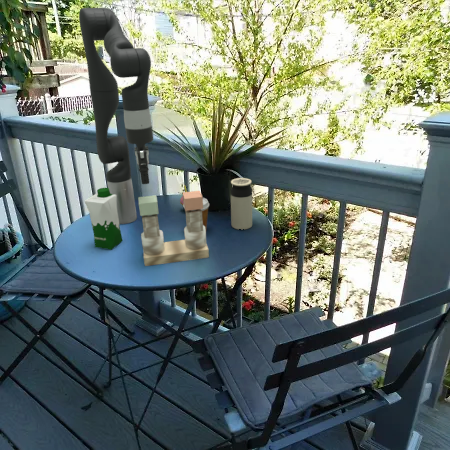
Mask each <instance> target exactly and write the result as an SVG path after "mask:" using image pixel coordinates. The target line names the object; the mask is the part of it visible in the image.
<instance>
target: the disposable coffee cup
mask: <svg viewBox="0 0 450 450" xmlns="http://www.w3.org/2000/svg"><path fill="white" fill-rule="evenodd" d="M182 207H183V208H184V210H185V207H184V204H183V205H182ZM209 207H210V203H209V201H208V199H207V198H205V197H203V209H201V210H202V220H203V225H204V226H205V229H206V230H207V228H208V227H207V226H208V217H209V215H208V214H209Z"/></svg>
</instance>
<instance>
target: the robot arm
mask: <svg viewBox="0 0 450 450" xmlns="http://www.w3.org/2000/svg"><path fill="white" fill-rule="evenodd" d="M78 17H79V19H78V20H79V27H80V33H81V37H82V38H81V40H82V43H83V47H84V52H85V59H86V65H87V73H88V83H89V92H90V97H91V98H90V99H91V104H92V105H91V106H92V110H93V116H94V123H95V139H96V140H95V141H96V142H95V143H96V150H97V156H98V159H99V161H100V162H101V164H103V165H109V164H114V163H117V164H116V165H115V166H114V167H112V168H110V169H109V170H108V171H107V172H106V174H105V176H106V177H105V178H106V183H107V188H109V191H110V194H115V195H117V213H118V219H119V225H125V224H131V223H134V222H135V221H137V219H138V216H137V215H138V214H137V209H136V201H135V196H134V194H135V193H134V188H133V187H134V186H133V181H132V171H131V170H132V168H131V161H130V149H129V145H136V146H135V147H134V155H135V156H136V157H135V158H136V159H135V160H136V165H138V171H139V173H140V180H141V181H140V182H141V184H142V185H148V184H150V178H149V171H150V170H149V166H148V165H149V164H150V161H149V159H150V158H149V155H150V152H149V146H148V145H147V146H146V144H149V143H152V142H153V141H154V133H153V125H152V123H153V121H152V115H151V114H152V113H151V112H150V104H149V96H148V94H149V93H148V92H149V91H148V90H149V79H150V74H151V68H152V60H151V56H150V53H148V51H147V50H146V49H144V48H142V47H136V48H135V47H134V45H133V44H132V43H131V41H130V40H129V39H128V38H127V36H126V35H125V33H124V32H123V31H124V30H123V29H122V26H121V24H120V21H119V19H118V16H117V15H116V13H115V12H114V11H113V10H112V9H111V8H108V7H82V8H80V9H79V15H78ZM96 41H97V42H98V41H103V47H104V50H105V52H106V54H107V55H108V56H109V57H110V60H109V61H110V67H111V70H110V69H109V68H108V67H107V65H106V64H105V63H104V61H103V59H102V58H101V56H100V55H99V53H98V50H97V48H96V44H95V42H96ZM111 71H112V72H111ZM115 76H116V77H118V78H123V79H126V78H136V80H135V82H134V83H132V84H131V85H128V86H126V87H123V88H122V89H121V100H122V107H123V108H122V109H123V121H124V122H123V123H124V128H125V136H126V138H125V136H123V135H122V136H121V135H119V136H111V137H108V132H109V128H110V124H111V121H112V120H113V118H114V117H115V114H116V112H117V110H118V107H119V104H120V96H119V95H120V94H119V93H120V92H119V85H118V81H117V79H116V77H115Z"/></svg>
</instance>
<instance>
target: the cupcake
mask: <svg viewBox="0 0 450 450" xmlns="http://www.w3.org/2000/svg"><path fill="white" fill-rule="evenodd" d="M183 188H184V192H188V191H187V188H186V185H185V184H183ZM179 204H180V205H182V206H183V195H182V196H181V197H180V198H179Z"/></svg>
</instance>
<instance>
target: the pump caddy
mask: <svg viewBox="0 0 450 450" xmlns="http://www.w3.org/2000/svg"><path fill="white" fill-rule="evenodd" d="M184 212H185V221H186V222H185V223H186V224H185V225H186V226H185V227H184V229H183V232H184V239H180V240H171V241H170V240H169V241H165V238H164V232H163V230H161V229H160V225H159V216H158V215H159V214H153V215H152V216H147V215H144V216H141V219H142V228H143V232H141V234H140V239H141V244H142V250H143V251H142V252H143V263H144V267H149V266H156V265H162V264H163V265H165V264H171V263H178V262H184V261H186V262H187V261H193V260H198V259H199V260H200V259H207V258H210V252H209V246H208V244H207V229H205V226H204V225H203V220H202V210H201V209H196V211H191V210H187V211H186V210H185V209H184Z"/></svg>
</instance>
